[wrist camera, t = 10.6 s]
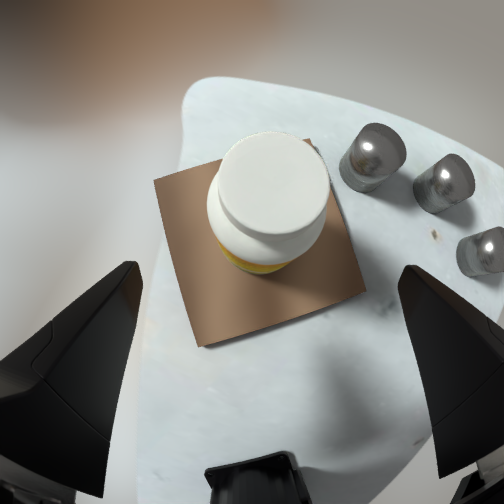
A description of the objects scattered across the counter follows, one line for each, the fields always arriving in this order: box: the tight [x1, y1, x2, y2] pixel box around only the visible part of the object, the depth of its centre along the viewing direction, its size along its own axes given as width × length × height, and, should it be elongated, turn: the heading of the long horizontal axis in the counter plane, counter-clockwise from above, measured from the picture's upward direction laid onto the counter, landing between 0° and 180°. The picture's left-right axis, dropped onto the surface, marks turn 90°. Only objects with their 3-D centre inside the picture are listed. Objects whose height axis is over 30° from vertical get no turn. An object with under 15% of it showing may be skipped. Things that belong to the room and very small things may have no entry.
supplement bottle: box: [207, 132, 330, 274], centre depth 14 cm, size 5×5×10 cm
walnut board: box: [154, 138, 366, 347], centre depth 20 cm, size 12×12×1 cm
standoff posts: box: [339, 123, 504, 277], centre depth 19 cm, size 6×17×4 cm, turn 58°
